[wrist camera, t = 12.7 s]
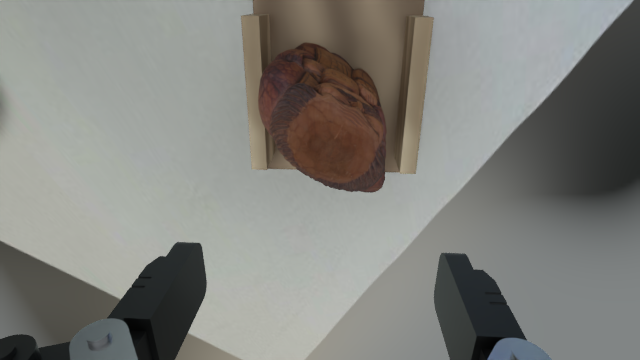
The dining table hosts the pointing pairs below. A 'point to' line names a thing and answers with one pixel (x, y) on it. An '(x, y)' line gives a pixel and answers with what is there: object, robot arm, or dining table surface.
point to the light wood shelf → (358, 50)
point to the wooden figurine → (325, 118)
